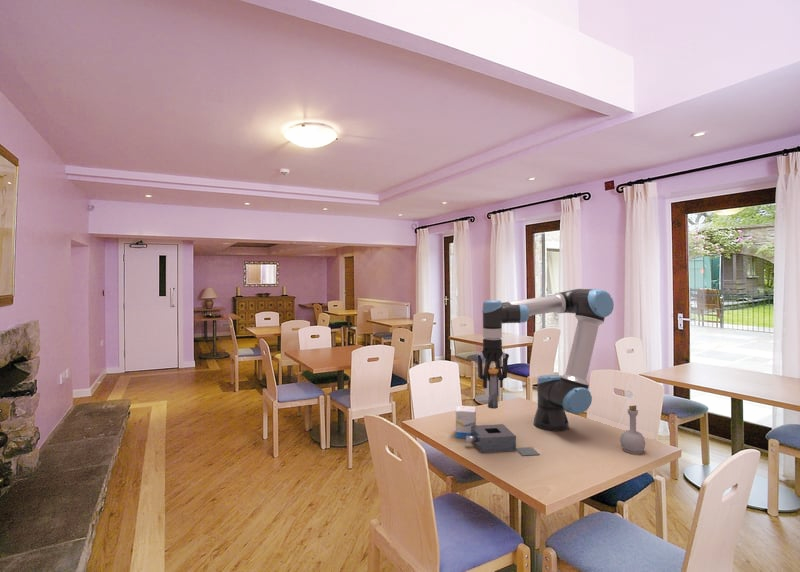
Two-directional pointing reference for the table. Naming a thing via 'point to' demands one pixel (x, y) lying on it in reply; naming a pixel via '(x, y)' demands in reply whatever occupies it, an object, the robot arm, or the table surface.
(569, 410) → the robot arm
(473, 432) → the block
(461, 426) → the ink box
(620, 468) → the table surface
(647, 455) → the table surface
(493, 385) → the grey cylinder with cap
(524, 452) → the mat
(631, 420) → the potion bottle
